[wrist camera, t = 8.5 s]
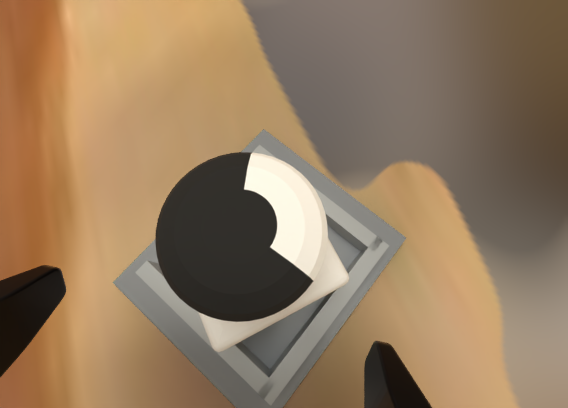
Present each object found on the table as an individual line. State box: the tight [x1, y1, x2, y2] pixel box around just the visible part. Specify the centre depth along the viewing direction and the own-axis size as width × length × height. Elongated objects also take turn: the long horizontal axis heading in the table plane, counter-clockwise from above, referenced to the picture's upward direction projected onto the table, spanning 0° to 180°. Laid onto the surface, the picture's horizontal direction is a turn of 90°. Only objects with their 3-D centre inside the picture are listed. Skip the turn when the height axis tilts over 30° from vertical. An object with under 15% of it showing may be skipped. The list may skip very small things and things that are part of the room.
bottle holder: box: [113, 129, 406, 408], centre depth 21 cm, size 14×16×3 cm
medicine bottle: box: [155, 152, 349, 352], centre depth 15 cm, size 7×7×12 cm
